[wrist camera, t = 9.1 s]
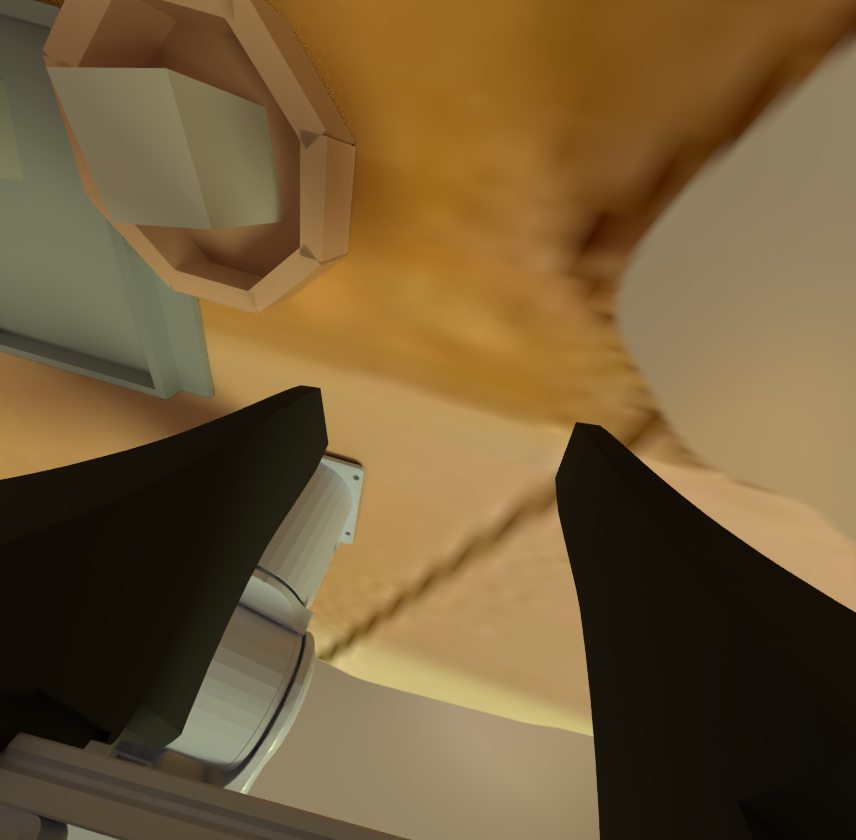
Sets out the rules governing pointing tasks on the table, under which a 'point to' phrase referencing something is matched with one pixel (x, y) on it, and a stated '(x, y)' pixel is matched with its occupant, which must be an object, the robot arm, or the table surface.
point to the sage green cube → (171, 148)
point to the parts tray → (78, 250)
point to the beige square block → (7, 141)
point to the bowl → (288, 123)
